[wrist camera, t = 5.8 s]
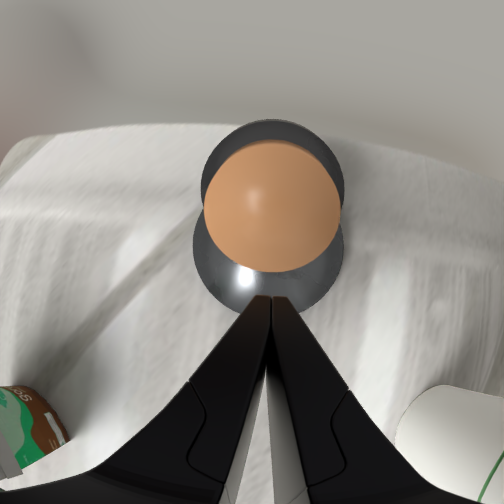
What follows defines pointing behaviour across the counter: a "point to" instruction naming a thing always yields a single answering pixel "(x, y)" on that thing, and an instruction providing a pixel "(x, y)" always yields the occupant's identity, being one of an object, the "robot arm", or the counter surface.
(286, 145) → the button cap
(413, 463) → the cylindrical container
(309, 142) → the button post
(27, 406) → the food container
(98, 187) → the counter surface
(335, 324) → the counter surface
